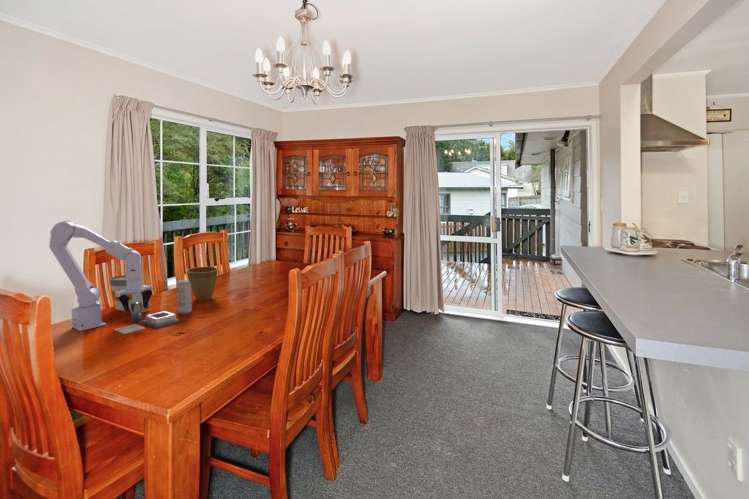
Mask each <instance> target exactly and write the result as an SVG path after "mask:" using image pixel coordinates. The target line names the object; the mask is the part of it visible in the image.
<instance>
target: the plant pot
mask: <svg viewBox="0 0 749 499" xmlns="http://www.w3.org/2000/svg"><path fill="white" fill-rule="evenodd" d="M218 270H219V268H217V267H215V266H198V267H192V268H188V269H186V274H187V277H188V280H189V282H190V284H191V292H192V293H193V295H194V297H195V299H196V301H200V302H201V301H209V300H211V299H212V298H213V295H214V292H215V288H216V285H217V284H216V283H217V278H218V273H219V272H218Z"/></svg>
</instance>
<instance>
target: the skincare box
mask: <svg viewBox="0 0 749 499" xmlns="http://www.w3.org/2000/svg"><path fill="white" fill-rule="evenodd" d="M143 286H147V285H146V284H142V287H143ZM150 300H151V299H149V302H148V307H147V308H144V307H143V298H142V294H141V292H140V293H135V294H132V302H141V308H142V313H146V312H150V311H151V307H150V306H151V305H150Z"/></svg>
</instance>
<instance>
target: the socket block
mask: <svg viewBox="0 0 749 499" xmlns="http://www.w3.org/2000/svg"><path fill="white" fill-rule="evenodd" d="M180 322H181V320H180V319H178V318H176V313H172V312H169V311H166V310H163V311H159V312H155V313H151V314H146V315H145V319H142V321H141V323H142V324H144V325H147V326H150V327H153V328H155V329H160V328H162V327H166V326H169V325H174V324H176V323H177V324H178V323H180Z"/></svg>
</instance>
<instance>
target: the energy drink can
mask: <svg viewBox="0 0 749 499" xmlns="http://www.w3.org/2000/svg"><path fill="white" fill-rule="evenodd" d="M175 287H176V304H177V312H178V314H181V315H186V314H190V313H191V312H192V311H193V303H192V288H191V284H190V282H189V279H181V280H177V283H176V286H175Z"/></svg>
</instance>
